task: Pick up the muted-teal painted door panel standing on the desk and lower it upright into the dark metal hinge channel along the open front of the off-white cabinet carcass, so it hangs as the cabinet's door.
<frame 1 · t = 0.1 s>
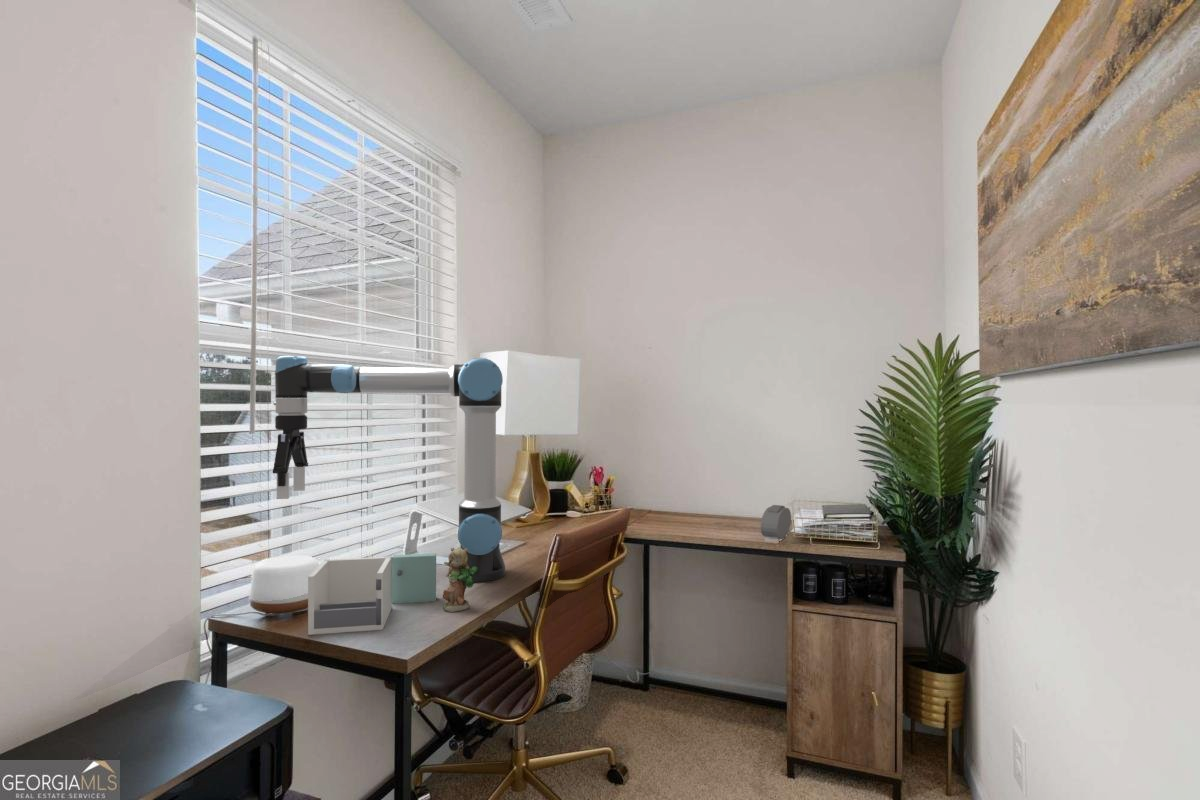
hand: (291, 494, 158), 28 cm above the table, fingers open, 13 cm apart
cabinet: (352, 620, 143), on the table
figurine: (459, 608, 152), on the table
door: (414, 600, 158), on the table
alarm clock: (776, 539, 227), on the table
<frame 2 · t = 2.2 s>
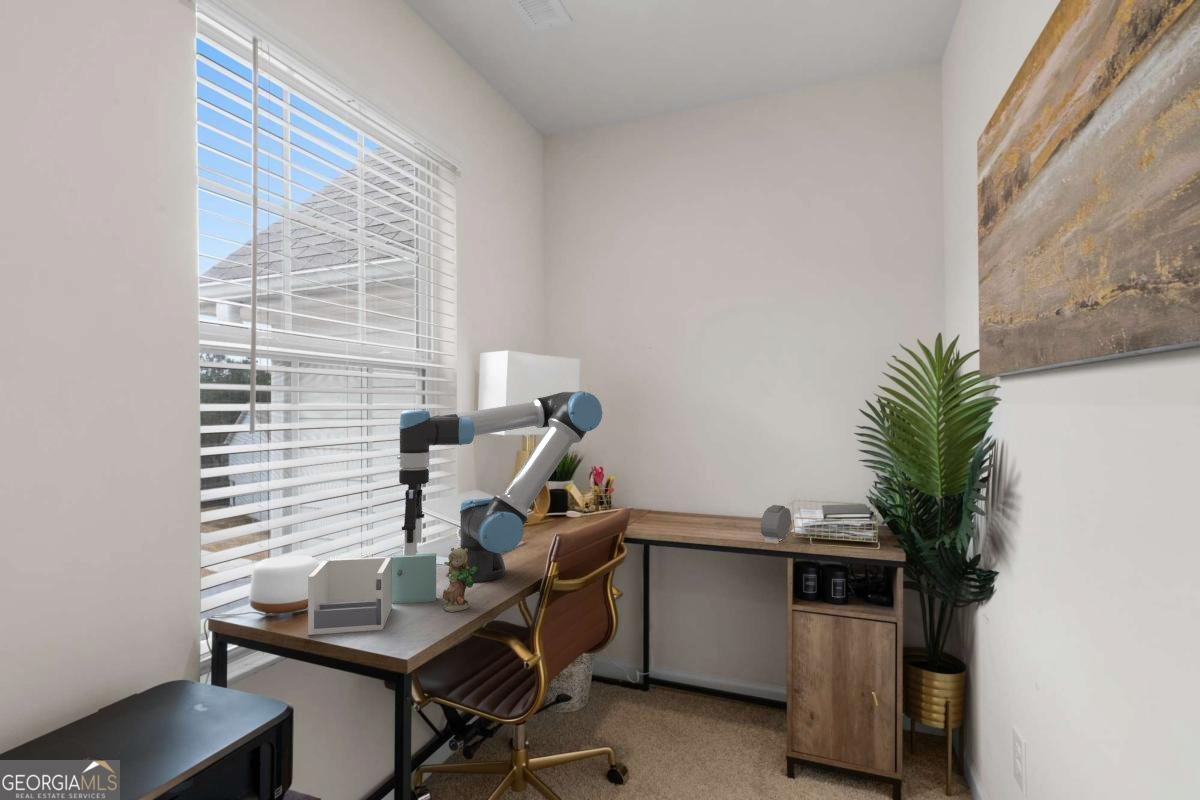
hand: (413, 548, 157), 14 cm above the table, fingers open, 13 cm apart
nothing on the table moved.
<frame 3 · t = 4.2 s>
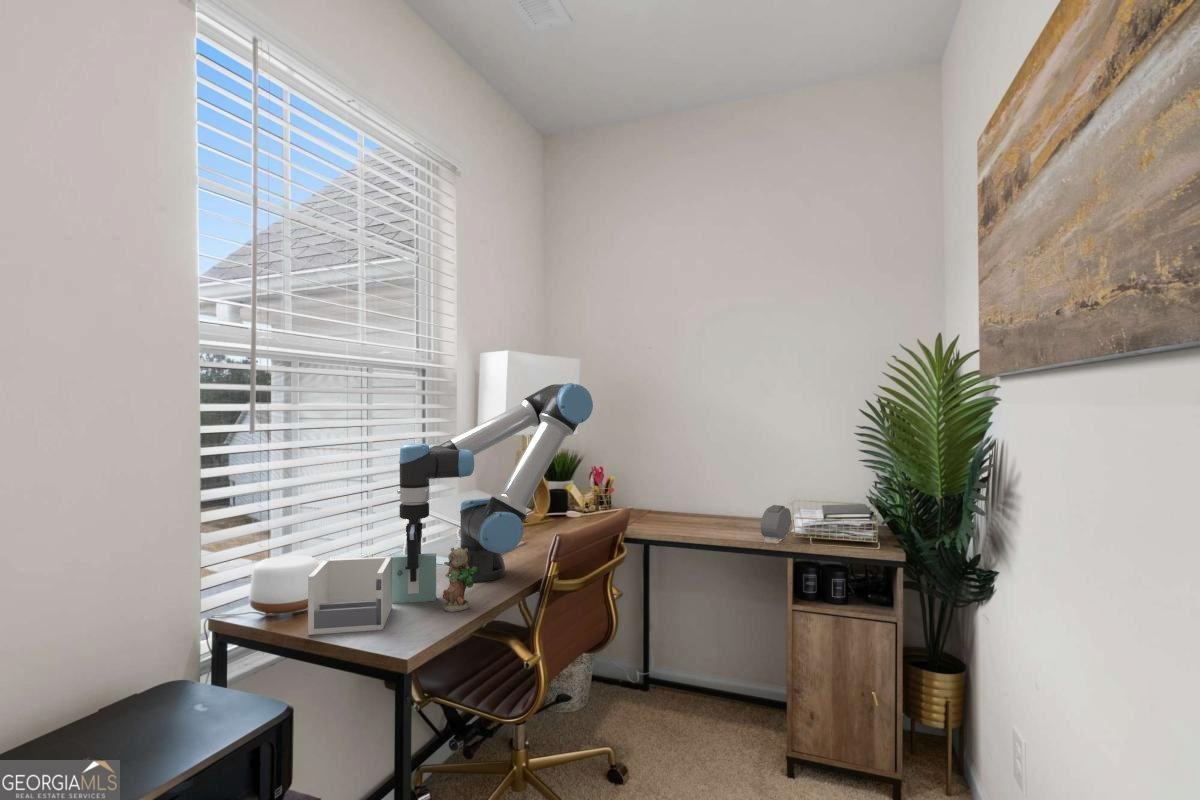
hand: (414, 590, 158), 3 cm above the table, fingers closed on door, 2 cm apart
door: (414, 600, 158), on the table, touching gripper
everything else where it was.
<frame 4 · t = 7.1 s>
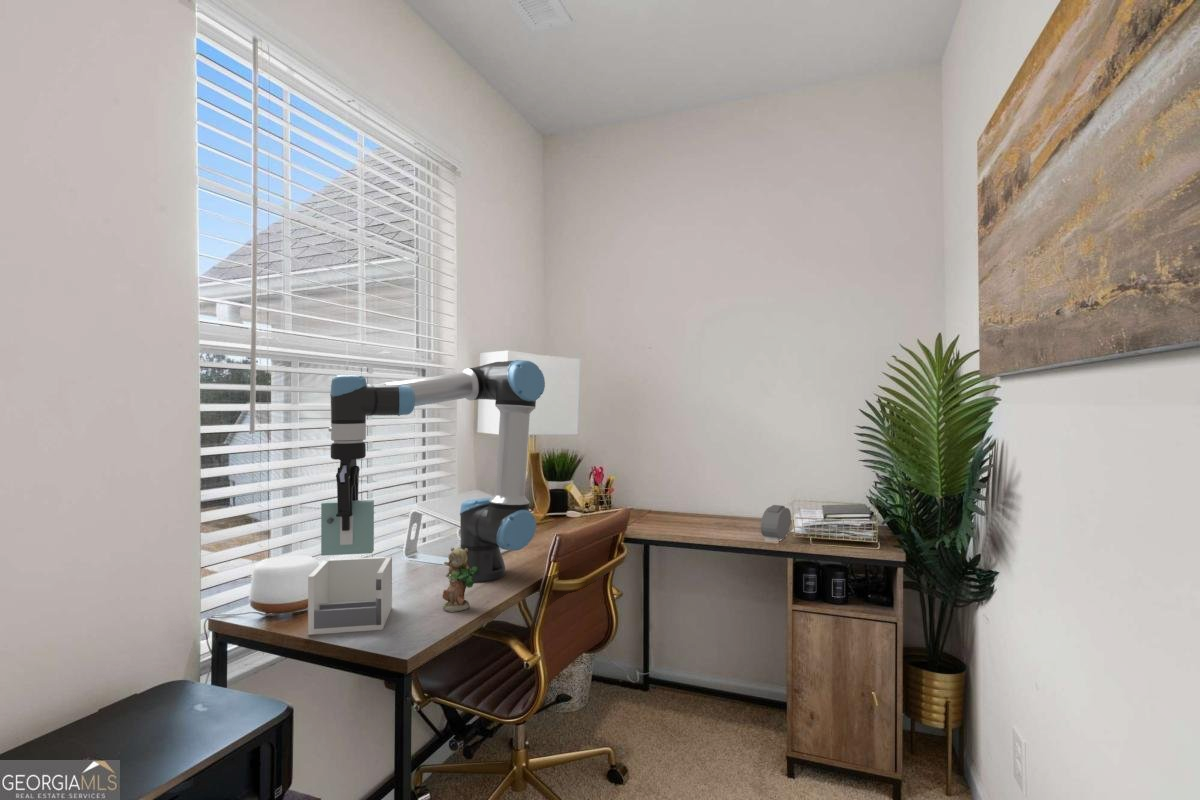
hand: (348, 542, 139), 20 cm above the table, fingers closed on door, 2 cm apart
door: (347, 553, 139), point 17 cm above the table, touching gripper
everything else where it was.
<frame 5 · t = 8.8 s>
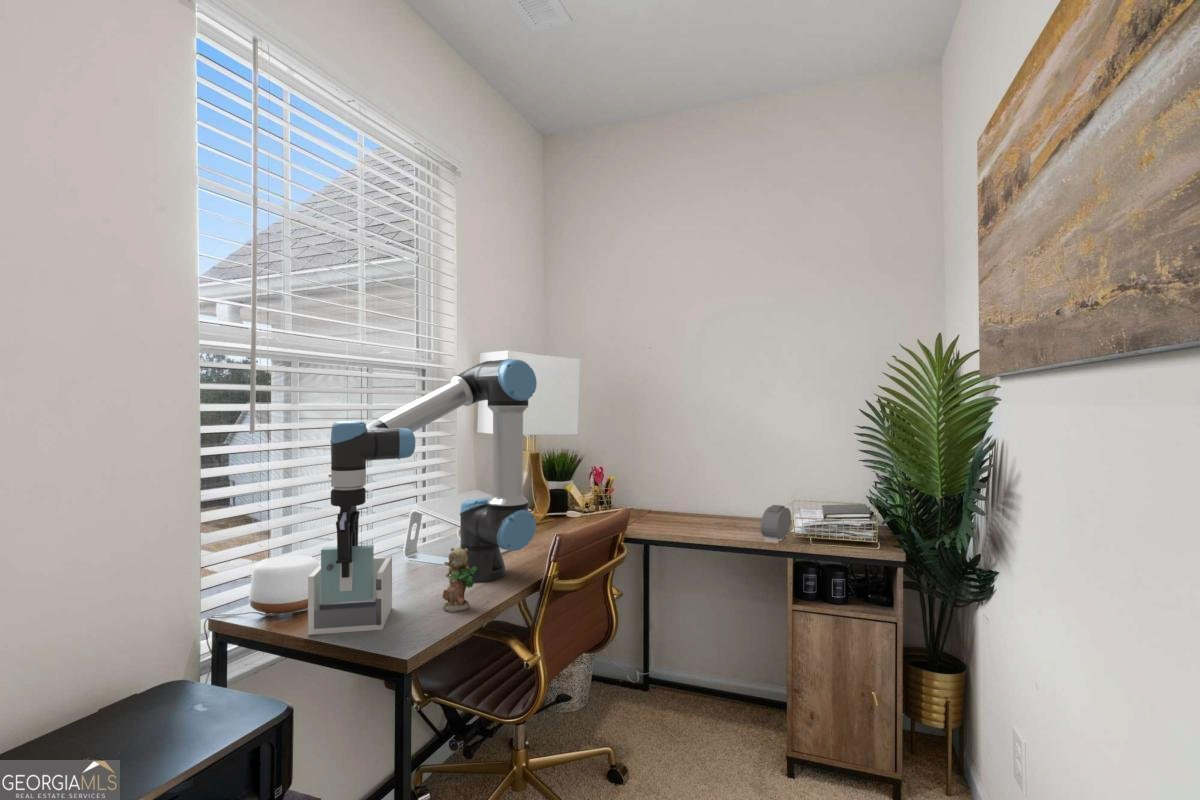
hand: (347, 588, 139), 9 cm above the table, fingers closed on door, 2 cm apart
door: (347, 598, 139), point 7 cm above the table, touching gripper
everything else where it was.
when the fingers open (6 cm above the table, at t = 10.0 s): door drops 3 cm, resting on cabinet.
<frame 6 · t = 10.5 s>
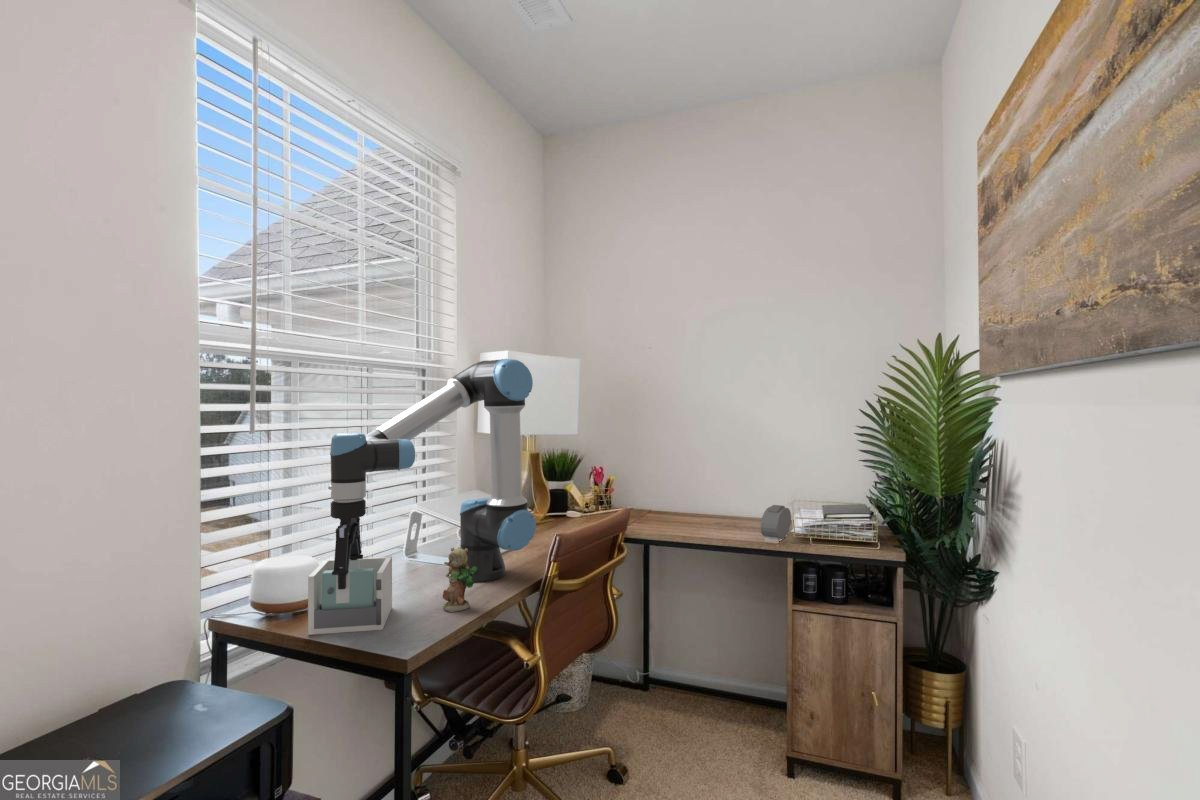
hand: (348, 594, 139), 8 cm above the table, fingers open, 10 cm apart
door: (348, 622, 139), point 1 cm above the table, touching cabinet
everything else where it was.
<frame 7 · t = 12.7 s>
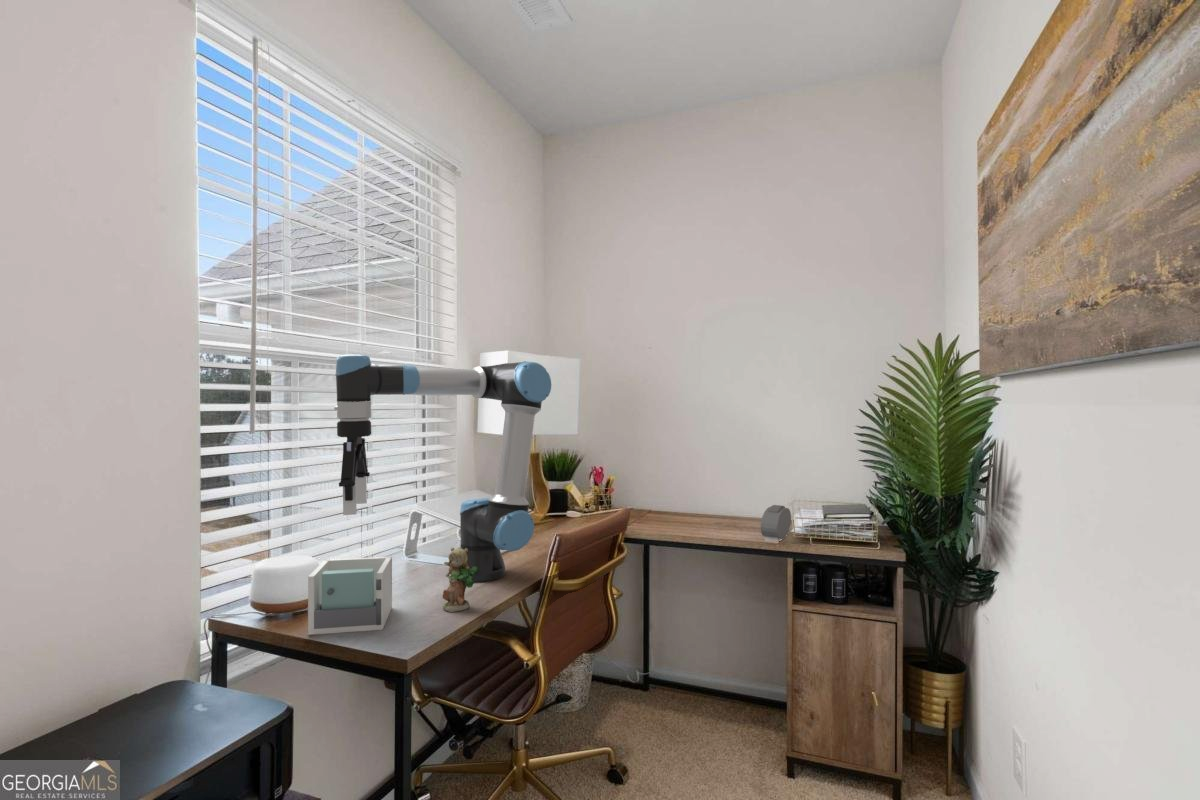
hand: (355, 508, 142), 27 cm above the table, fingers open, 13 cm apart
nothing on the table moved.
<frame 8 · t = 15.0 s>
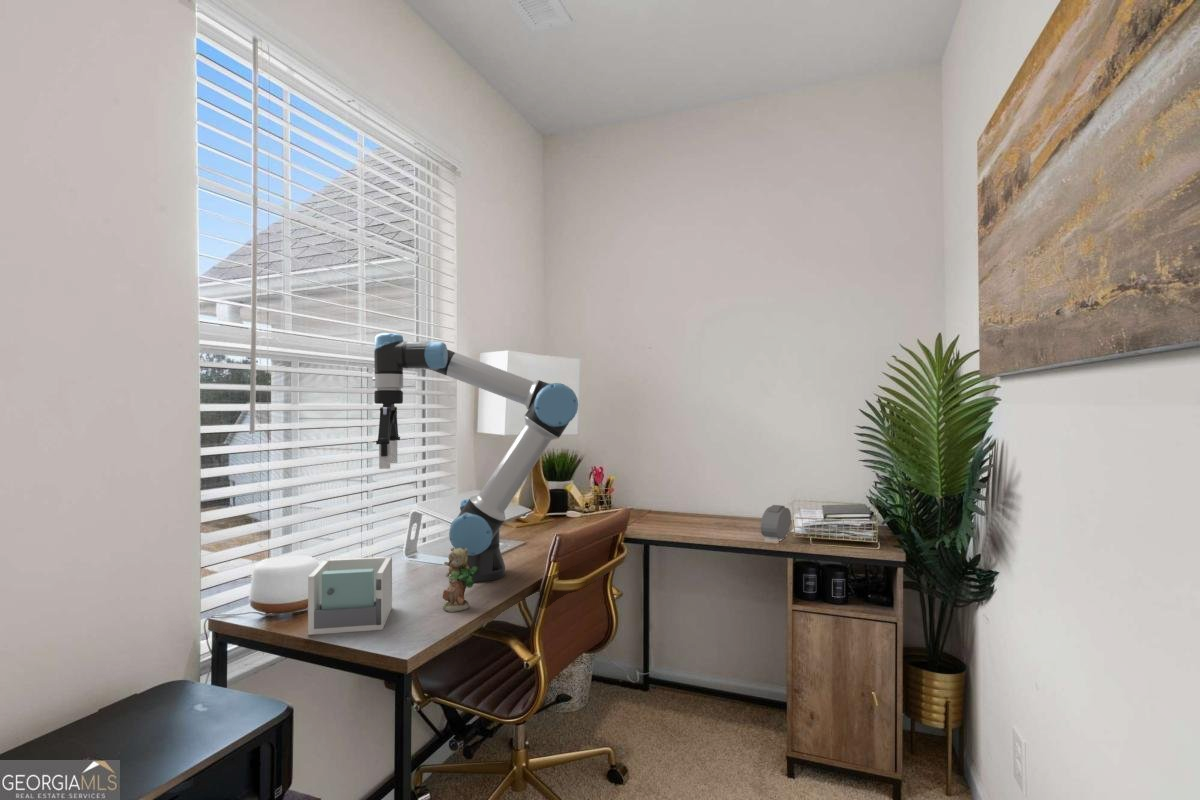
hand: (388, 465, 166), 35 cm above the table, fingers open, 13 cm apart
nothing on the table moved.
at the end: door 0.2 cm from the target spot on the cabinet, point 1.2 cm above the cabinet's base; door tilted 0°; the gripper is holding nothing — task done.
